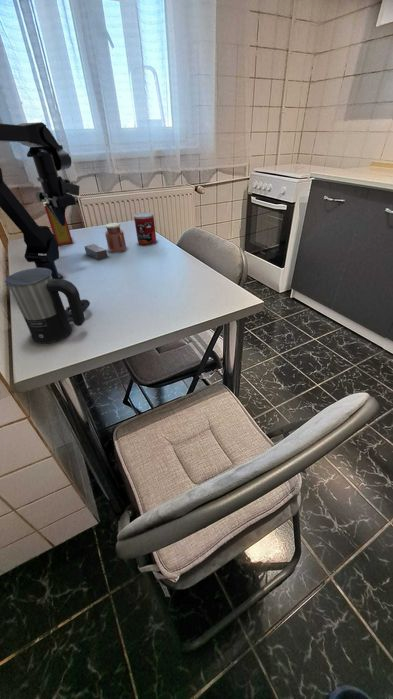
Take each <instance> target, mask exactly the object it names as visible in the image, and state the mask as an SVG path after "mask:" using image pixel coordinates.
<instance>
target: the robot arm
mask: <svg viewBox="0 0 393 699" xmlns="http://www.w3.org/2000/svg"><path fill="white" fill-rule="evenodd" d="M0 142H4V143H19V144H21V145H22V146H26V147H29V150H28V151H27V153H26V156H27V158H32V160H33V163H34V166H35V168H36V169H35V170H36V173H37V176H38V177H36V179H37V182H40V185H41V189H42V190H37V191H36V192H35V194H34V195H35V198H36V201H37V202H42V201H44V200H45V202H46V203H45V204H43V206H44V205H45V206H46V207H47V208H48V209H49V211H50V212H51V213H52V214H53V216H54V217H55V218H56V219H57V221H58V222H59V223H60V225H61V226H65V217H66V210H67V208H68V207H70V206H77V205H78V203H77V199H76V197H75V196H77V197H80V185H78V184H75V183H74V184H73V183H71V181H70V180H69V179H66V178H63V177H62V176H61V175H59V174H58V172H60V171H64V170H68V169H71V166H72V161H73V160H72V157H71V156H70V154H69V152H68V151H67V150H65V149H64V148H63V144H59V143H58V141H57V139H56V138H55V137H54V135H53V133H52V132H51V130H50V128H49V127H47V124H46V123H45V122H42V121H41V122H24V123H19V124H9V123H1V122H0ZM0 209H1V210H2V211H3V212H4V214H6V216H7V217H8V218H9V219H10V221H11V222H13V224H14V225H15V226H16V227H17V228H18V229H19V231H20V232H21V233H22V235H23V242H24V243H25V245H26V246H25V252H24V255H23V256H24V259H25V260H26V261H27V263H34V265H35V268H47V269H50V270H51V272H52V273H51V276H52V279H63V278H64V276H63V274H60V273H59V271H58V269H57V265H56V263H55V261H57V260H59V259H60V252H59V246H58V242H57V240H56V238H55V235H54V234H53V232H52V229H50V228H51V227H48V225H39V224H38V223H37V222H36V221H35V219H34V218H33V217H32V216H31V215H30V213H29V212H28V210H27V209H26V208H25V207H24V205H23V204H22V203H21V202H20V200H19V199H18V198H17V196H16V195H15V194H14V193H13V191H12V190H11V189H10V188H9V187H8V185H7V184H6V182H5V181H4V177H3V171H2V168H1V167H0Z"/></svg>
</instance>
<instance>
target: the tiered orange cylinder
mask: <svg viewBox="0 0 393 699" xmlns="http://www.w3.org/2000/svg"><path fill="white" fill-rule="evenodd" d="M105 228H106V231H105V232H104V235H105V240H106V243H107V249H108V252H109V253H113V254H114V253H115V254H116V253H123V252H125V251H126V250H127V244H126V238H125V232H124V230H123V229H121V223H119V222H110V223H107V224H105Z"/></svg>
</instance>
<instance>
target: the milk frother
mask: <svg viewBox="0 0 393 699" xmlns="http://www.w3.org/2000/svg"><path fill="white" fill-rule="evenodd" d="M51 273H52V272H51V270H50V269H47V268H36V267H35V268H34V267H33V268H32V267H31V268H27V269H22V270H19V271H17V272H14V273H12V274H10V275H8V276H7V277H6V278H5V279H4V283H5V285H7V286H8V289H9V291H10V292H11V295H12V296H13V299H14V301H15V303H16V305H17V307H18V309H19V311H20V314H21V315H22V317H23V319H24V322H25V323H26V326H27V328H28V330H29V333H30V335H31V336H30V338H31V340H32V341H33V342H35V343H36V344H51V343H56V342H58V341H60V340H63V339H64V338H66V337H67V336H69V334H70V333H72V329H73V326H72V325H71V322H73V323H74V325H75V326H76V327H80V326H83V324H84V322H85V321H86V318H85V317H86V316H85V313H84V312H85V311H86V310H87V309H88V308H89V307H90V305H91V302H90V300H89V299H86V298H85V299H81V296H80V293H79V289H78V288H77V286H76V285H75V284H73V283H72V281H69V280H67V279H63V278H61V279H52V276H51ZM59 292H60V293H62V294H64V295H65V297H66V300H67V303H68V306H66V307H65V306H64V303H63V301H62V298H61V295H60V293H59Z"/></svg>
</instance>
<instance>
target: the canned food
mask: <svg viewBox="0 0 393 699" xmlns="http://www.w3.org/2000/svg"><path fill="white" fill-rule="evenodd" d="M133 219H134V226H135V231H136V233H135V234H136V238H137V243H138V245H141V246H151V245H155V244H156V242H157V235H156V234H157V233H156V225H155V216H154V214H153V213H152V212H139V213H135V214H134V215H133Z"/></svg>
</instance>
